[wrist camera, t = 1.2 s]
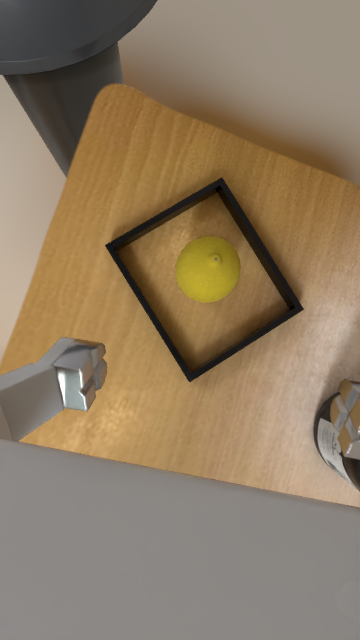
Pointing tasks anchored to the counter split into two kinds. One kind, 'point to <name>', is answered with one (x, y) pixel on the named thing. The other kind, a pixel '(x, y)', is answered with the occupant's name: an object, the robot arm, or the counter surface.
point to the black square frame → (255, 244)
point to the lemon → (208, 269)
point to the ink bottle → (334, 446)
